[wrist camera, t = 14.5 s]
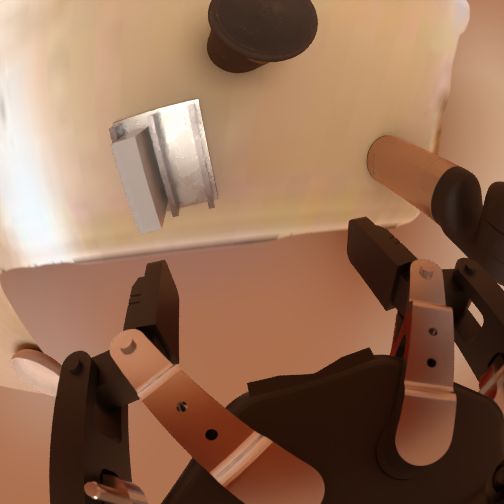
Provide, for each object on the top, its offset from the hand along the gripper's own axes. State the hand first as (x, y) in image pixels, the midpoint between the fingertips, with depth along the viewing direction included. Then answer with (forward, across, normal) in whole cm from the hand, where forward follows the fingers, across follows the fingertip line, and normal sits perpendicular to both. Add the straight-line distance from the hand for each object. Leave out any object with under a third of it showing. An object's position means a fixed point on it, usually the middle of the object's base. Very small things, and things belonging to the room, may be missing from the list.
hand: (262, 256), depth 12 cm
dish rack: (+32, +8, +2) cm, 33 cm away
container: (+32, -5, -13) cm, 35 cm away
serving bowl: (+32, +64, +45) cm, 85 cm away
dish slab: (+31, +10, +2) cm, 33 cm away
